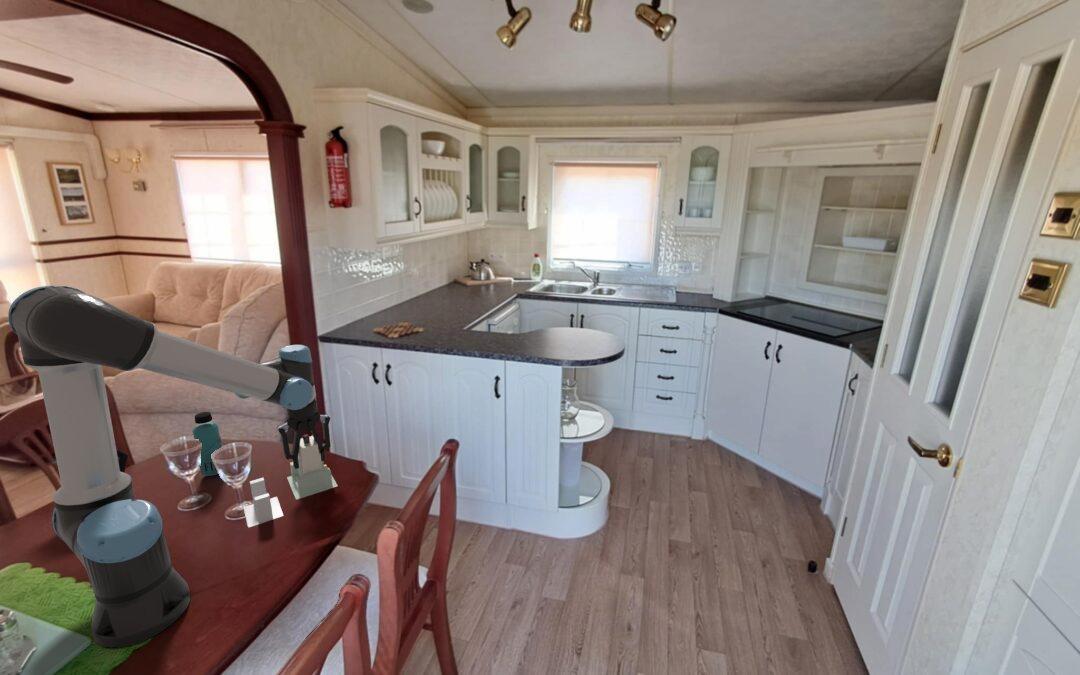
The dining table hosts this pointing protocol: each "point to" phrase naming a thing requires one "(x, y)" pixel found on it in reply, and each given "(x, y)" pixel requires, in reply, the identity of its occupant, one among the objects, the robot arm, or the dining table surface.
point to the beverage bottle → (207, 441)
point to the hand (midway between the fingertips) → (310, 473)
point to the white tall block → (309, 454)
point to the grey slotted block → (261, 505)
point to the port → (310, 481)
